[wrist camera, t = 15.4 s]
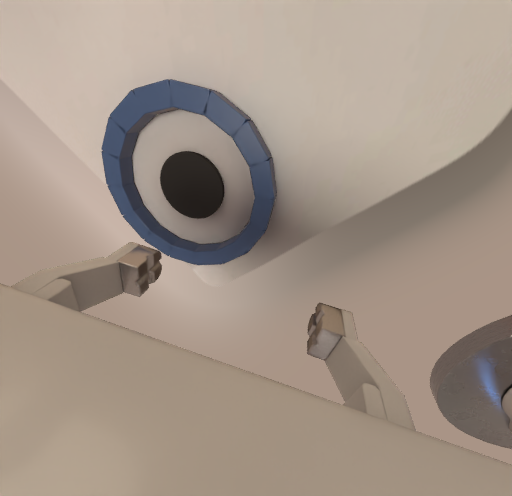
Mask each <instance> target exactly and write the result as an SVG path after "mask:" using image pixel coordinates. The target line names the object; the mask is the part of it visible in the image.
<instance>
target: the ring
mask: <svg viewBox="0 0 512 496" xmlns="http://www.w3.org/2000/svg"><path fill="white" fill-rule="evenodd" d="M176 109H182V110H186V111H189V112H193V113H197V114H201V115H204V116H206V117H207V118H208V119H209V120H211V121H212V122H213V123H214V124H216V125H217V126H218V127H219V128H221V129H222V130H223V131H224V132H226V133H227V134H228V135H229V136H231V137H232V138H233V140H234V142H235V143H236V145H237V147H238V148H239V150H240V152H241V153H242V155H243V157H244V158H245V160H246V162H247V163H248V165H249V167H250V173H251V178H252V184H253V190H254V195H255V199H254V204H253V208H252V213H251V217H250V221H249V222H248V223H247V225H246V226H245V227H244V229H243V230H242V231H241V233H240V234H239V235H237V236H235V237H233V238H231V239H229V240H227V241H225V242H223V243H217V244H197V243H193V242H190V241H187V240H184V239H180V238H178V237H177V236H175V235H174V234H172V233H171V232H170V231H168V230H167V229H165V228H164V227H162V226H161V225H160V224H159V223H158V222H157V221H156V220H155V218H154V217H153V216H152V215H151V214H150V212H149V211H148V210H147V209H146V208H145V206H144V205H143V203H142V200H141V198H140V196H139V193H138V191H137V189H136V186H135V184H134V179H133V168H132V157H131V156H132V153H133V150H134V146H135V143H136V140H137V137H138V133H139V131H140V130H141V129H142V128H143V127H144V126H145V125H146V124H147V123H148V122H149V121H150V120H152V119H153V118H154V117H155V116H156V115H157V114H160V113H164V112H168V111H172V110H176ZM250 120H251V118H250V117H248V116H247V115H246V114H245V113H244V112H242V111H241V110H240V109H239V108H238V107H236V106H235V105H234V104H233V103H231V102H230V101H229V100H228V99H227V98H225V97H224V96H223V95H222V94H221V93H218V92H217V91H214V90H211V89H207V88H203V87H199V86H195V85H191V84H187V83H184V82H180V81H176V80H172V79H170V80H168V79H166V80H163V81H159V82H156V83H153V84H149V85H146V86H142V87H139V88H135V89H133V90H131V91H130V92H129V94H128V95H127V96H126V97H125V98H124V99H123V100H122V102H121V103H120V104H119V105H118V106H117V107H116V109H115V110H114V111H113V112H112V113H111V114H110V117H109V118H108V123H107V127H106V132H105V136H104V141H103V145H102V150H103V151H102V158H103V164H104V170H105V177H106V183H107V184H108V188H109V190H110V192H111V194H112V196H113V198H114V200H115V202H116V204H117V206H118V208H119V210H120V212H121V214H122V215H124V216H123V217H124V218H125V220H126V221H127V222H128V223H129V224H130V225H131V226H132V227H133V229H134V230H135V231H136V232H137V233H138V234H139V235H140V237H141V238H143V239H145V241H146V242H147V243H149V244H150V245H152V246H154V247H155V248H157V249H158V250H160V251H161V252H163V253H164V254H166V255H167V256H169V255H170V257H172V258H175V259H178V260H182V261H185V262H188V263H191V264H196V265H214V264H224V263H226V262H229V261H231V260H233V259H235V258H237V257H240V256H242V255H244V254H246V253H248V252H249V251H250V249H251V248H252V247H253V246H254V245H255V243H256V242H257V241H258V240H259V239H260V238H261V236H262V235H263V234H264V233H265V231H266V229H267V227H268V224H269V221H270V217H271V213H272V210H273V206H274V202H275V199H276V193H277V190H276V182H275V175H274V167H273V159H272V157H271V154H270V152H269V150H268V148H267V146H266V144H265V143H264V141H263V139H262V137H261V135H260V133H259V132H258V130H257V128H256V126H255V124H254V122H253V121H250ZM270 157H271V158H270Z"/></svg>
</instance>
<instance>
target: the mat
mask: <svg viewBox="0 0 512 496" xmlns="http://www.w3.org/2000/svg"><path fill="white" fill-rule="evenodd" d="M160 181H161V187H162V190H163V193H164V195H165V197H166V199H167V200H168V202H169V203H170V204H171V205H172V207H173V208H175V209H176V210H177V211H178V212H180V213H181V214H183V215H185V216H188V217H191V218H205V217H208V216H210V215H212V214H213V213H214V212H216V211H217V210H218V208H219V207H220V205H221V203H222V201H223V197H224V185H223V181H222V178H221V176H220V173H219V172H218V170H217V168H216V167H215V166H214V165H213V164H212V162H210V161H209V160H208V159H207V158H205V157H204V156H202V155H200V154H198V153H195V152H189V151H184V152H179V153H176V154H174V155H172V156H170V157H169V158H168V159H167V160H166V162H165V163H164V165H163V167H162V170H161V176H160Z"/></svg>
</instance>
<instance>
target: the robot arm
mask: <svg viewBox="0 0 512 496" xmlns="http://www.w3.org/2000/svg"><path fill="white" fill-rule="evenodd" d="M160 259H161V253H160V251H157V250H154V249H152V248H149V247H146V246H143V245H140V244H137V243H134V242H130V243H128V244H126V245H125V246H123V247H122V248H120V249H119V250H117V251H116V252H114V253H113V254H111V255H110V256H108V257H106V258H104V257H101V258H96V259H91V260H87V261H82V262H77V263H72V264H68V265H63V266H58V267H53V268H49V269H44V270H40V271H38V272H37V273H35V274H33V275H31V276H29V277H27V278H26V279H24V280H22V281H20V282H18V283H16V284H15V285H13V286H11V287H9V286H6V285H3V284H0V496H512V465H511V464H508V463H505V462H502V461H499V460H497V459H494V458H491V457H488V456H485V455H482V454H479V453H477V452H474V451H471V450H468V449H465V448H463V447H460V446H457V445H454V444H451V443H448V442H446V441H443V440H440V439H437V438H434V437H431V436H428V435H426V434H423V433H420V432H417V431H416V430H415V427H414V424H413V420H412V417H411V414H410V411H409V408H408V405H407V402H406V399H405V396H404V395H403V393H402V392H401V391H400V390H399V388H398V387H397V386H396V385H395V383H394V382H393V381H392V380H391V379H390V377H389V376H388V375H387V373H386V372H385V371H384V370H383V369H382V367H381V366H380V365H379V364H378V362H377V361H376V360H375V359H374V358H373V356H372V355H371V354H370V352H369V351H368V350H367V349H366V347H365V346H364V345H363V344H362V343H361V342H358V337H357V333H356V328H355V324H354V319H353V314H352V313H351V312H349V311H346V310H342V309H338V308H335V307H332V306H329V305H326V304H322V303H319V304H318V305H317V307H316V313H314V314H312V316H311V318H310V321H309V325H308V335H309V336H310V338H309V340H308V341H307V354H308V355H311V356H314V357H316V358H319V359H322V360H325V363H326V365H327V366H328V369H329V371H330V373H331V374H332V376H333V379H334V381H335V383H336V385H337V387H338V389H339V391H340V393H341V395H342V397H343V399H344V401H345V403H344V404H343V405H341V404H339V403H336V402H333V401H330V400H327V399H324V398H321V397H319V396H316V395H313V394H310V393H307V392H305V391H302V390H299V389H296V388H294V387H291V386H288V385H285V384H282V383H279V382H276V381H274V380H271V379H268V378H265V377H262V376H260V375H257V374H254V373H251V372H248V371H245V370H243V369H240V368H237V367H234V366H231V365H228V364H226V363H223V362H220V361H217V360H214V359H212V358H209V357H206V356H203V355H200V354H197V353H195V352H192V351H189V350H186V349H183V348H181V347H178V346H175V345H172V344H169V343H167V342H164V341H161V340H158V339H155V338H152V337H150V336H147V335H144V334H141V333H138V332H136V331H133V330H129V329H127V328H124V327H121V326H118V325H116V324H113V323H110V322H107V321H105V320H102V319H99V318H96V317H93V316H90V315H88V314H85V313H82V312H81V311H82V310H85V309H87V308H89V307H92V306H94V305H97V304H99V303H101V302H103V301H106V300H108V299H110V298H113V297H115V296H117V295H119V294H122V293H123V292H125V293H129V294H132V295H135V296H138V297H140V296H141V295H142V294H143V293H144V292H145V291H146V290H147V289H148V288H149V284H151V283H154V282H155V281H156V280H157V279H158V277H159V276H160V274H161V270H162V265H161V264H160V262H159V260H160ZM502 408H503V410H504V412H505V413H506V414H507V415H508V417H509V418H510V423H509V430H510V431H511V432H512V388H511V389H509V390H508V391H507V393H506V394H505V395H504V397H503V400H502Z"/></svg>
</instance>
